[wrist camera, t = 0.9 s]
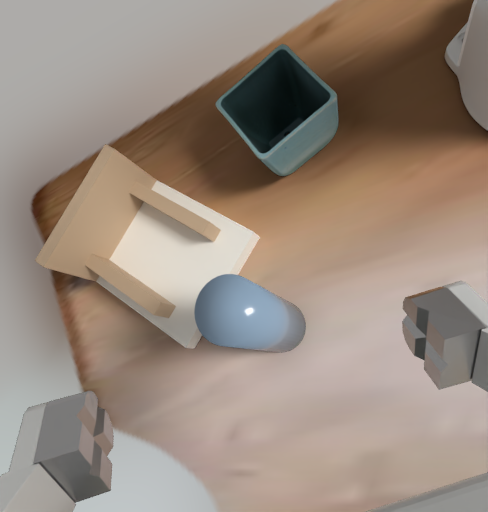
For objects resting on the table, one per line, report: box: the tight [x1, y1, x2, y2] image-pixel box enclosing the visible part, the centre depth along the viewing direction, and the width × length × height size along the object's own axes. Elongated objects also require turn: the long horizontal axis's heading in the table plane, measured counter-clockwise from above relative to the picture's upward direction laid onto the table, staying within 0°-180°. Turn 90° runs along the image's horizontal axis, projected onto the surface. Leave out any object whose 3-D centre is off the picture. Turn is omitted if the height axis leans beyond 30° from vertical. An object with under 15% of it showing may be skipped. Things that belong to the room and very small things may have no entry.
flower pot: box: [216, 44, 338, 176], centre depth 44 cm, size 9×9×9 cm
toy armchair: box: [35, 144, 260, 349], centre depth 45 cm, size 14×16×10 cm
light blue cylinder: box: [194, 274, 306, 352], centre depth 37 cm, size 5×5×14 cm
